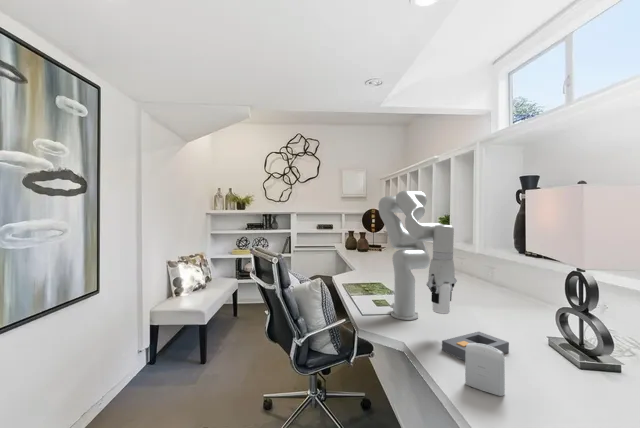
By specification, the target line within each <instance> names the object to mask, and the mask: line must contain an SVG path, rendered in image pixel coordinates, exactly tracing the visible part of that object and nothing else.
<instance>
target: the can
mask: <svg viewBox="0 0 640 428" xmlns="http://www.w3.org/2000/svg"><path fill="white" fill-rule="evenodd" d="M449 283H450V282H449ZM449 283H443V285H442V286H440V287H439V290H438V293H439V303H438V304H437V303H434V302H432V311H433V312H434V313H436V314H439V315H447V314H450V313H451V312H450V311H451V301H450V291H451V286H450V284H449ZM435 284H436V283H435ZM434 288H435V289H436V286H434Z"/></svg>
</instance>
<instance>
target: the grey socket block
mask: <svg viewBox="0 0 640 428" xmlns="http://www.w3.org/2000/svg"><path fill="white" fill-rule="evenodd" d="M468 343H481V344H486V345H489V346H492V347H494V348H496V349H498V350H500V351H502V352H503V353H504V354H506V353H509V352H510V342H509V341H507V340H504V339H501V338H498V337H495V336H492V335H491V334H487V333H484V332H481V331H475V332H472V333H471V332H470V333H467V334H463V335H459V336H455V337H451V338H447V339H443V340H441V350H442V352H445V353H447V354H450V355H451V356H453V357H455V358H456V359H457V358H458V359H460V360H462V361H464V362H465V350H466V346H467V344H468Z"/></svg>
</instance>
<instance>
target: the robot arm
mask: <svg viewBox="0 0 640 428" xmlns="http://www.w3.org/2000/svg"><path fill="white" fill-rule="evenodd" d="M427 201H428V200H427V196H426V194H425V193H424V191H423V192H422V191H420V190H403V191H402V190H401V191H399V192H398V193H397V194H396V195H386V196H384V197H382V198H380V200H379V201H378V208H377V209H378V213H379V217H380V219H381V220H382V222H383V224H384V226H385V229H386V233H387V236H388V240H389V242H390V245H391V247H392V248H393V249H395V250H396V251H395V252H394V253H393V254H392V265H393V271H394V290H393V291H394V299H393V300H394V302H393V303H392V304H391V305H390V308H392V311H390V316H391V317H393V318H394V319H396V320H402V321H404V320H405V321H412V320H417V319H419V313H417V312H416V278H415V275H414V274H413V273H412V270H424V269H427V268H429V269H428V276H427V277H428V280H427V282H426V286H427V287H428V289H429V290H430V292H431V299H430V300H431V302H432V303H433V302H434V303H437V304H438V303H439V293H438V290H439V287H440V286H442V285H443V283H449V282H450V283H449V284H450V286H451V291H450V302H452V293H453V291H454V289H453V288H454V287H455V285H456V284H457V282H458V279H457V278H456V277H455V274H456V273H455V262H454V261H455V260H454V240H455V239H454V237H455V236H454V235H455V234H454V233H455V229H454V226H453V225H451V224H450V225H449V224H443V223H441V222H418V221H419V220H421V219H422V217H423V216H424V215H425V213H426V210H425V207H426V205H427ZM396 213H397V214H399V213H403V214H404V215H405V219H404V224H403V222H402V219H400V217H399V216H397V214H396ZM404 225H405V226H404ZM425 242H432V259H430V254H429V252H428V249H427V246H426V243H425ZM435 283H436V284H435ZM434 286H436V289H435V288H434Z"/></svg>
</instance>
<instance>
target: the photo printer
mask: <svg viewBox="0 0 640 428" xmlns="http://www.w3.org/2000/svg"><path fill="white" fill-rule="evenodd" d="M504 354H505V353H503V352H502V351H500V350H498V349H496V348H494V347H492V346H489V345H486V344H481V343H468V344H467V346H466V350H465V361H464V362H465V363H464V364H465V365H464V369H465V377H464V378H465V379H464V380H465V381H464V382H465V385H466V386H469V387H472V388H473V389H474V388H475V389H477V390H480V391H482V392H483V391H484V392H486V393H489V394H493V395H496V396H499V397H502V396H504V395H505V390H506V388H505V387H506V386H505V385H506V384H505V377H506V376H505V375H506V374H505V373H506V372H505V367H506V366H505V364H506V363H505V355H504Z"/></svg>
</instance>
